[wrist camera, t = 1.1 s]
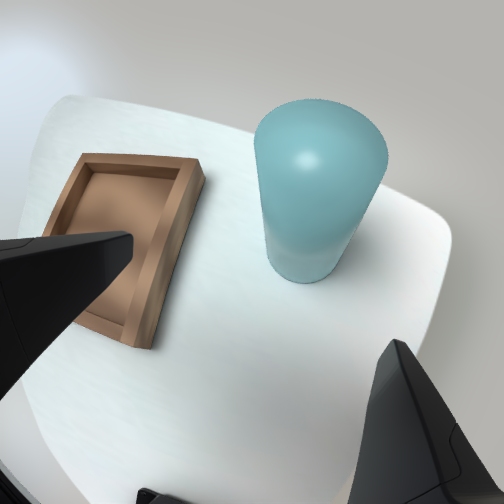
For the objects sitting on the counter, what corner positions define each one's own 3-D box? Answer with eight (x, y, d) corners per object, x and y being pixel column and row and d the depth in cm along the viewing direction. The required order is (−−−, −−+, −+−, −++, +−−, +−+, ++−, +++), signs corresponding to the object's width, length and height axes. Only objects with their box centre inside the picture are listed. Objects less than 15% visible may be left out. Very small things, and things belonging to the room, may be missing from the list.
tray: (150, 349, 22) (133, 347, 19) (40, 301, 24) (21, 294, 21) (205, 178, 27) (197, 158, 24) (95, 168, 29) (82, 153, 26)
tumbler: (334, 290, 22) (388, 214, 10) (258, 274, 23) (238, 185, 11) (343, 221, 24) (385, 112, 12) (274, 208, 25) (269, 92, 13)
